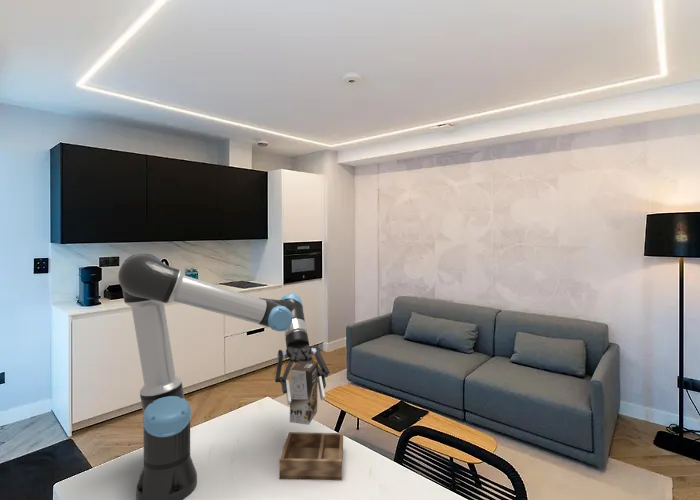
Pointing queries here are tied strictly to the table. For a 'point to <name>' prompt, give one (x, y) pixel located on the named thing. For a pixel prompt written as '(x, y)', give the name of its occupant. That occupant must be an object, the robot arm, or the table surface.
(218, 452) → the table surface
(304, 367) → the coffee box
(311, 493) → the table surface
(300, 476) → the caddy
